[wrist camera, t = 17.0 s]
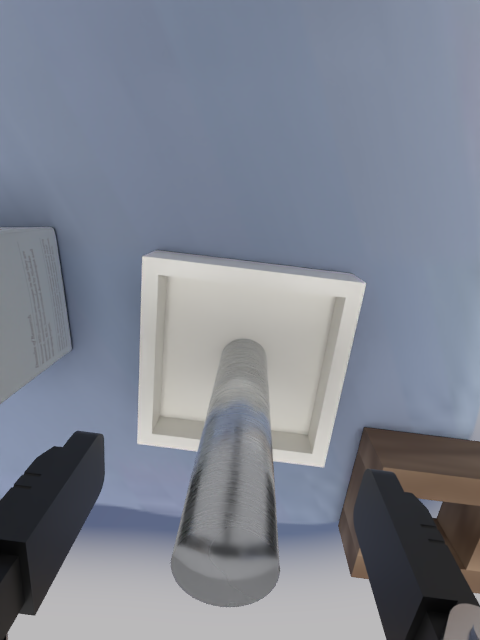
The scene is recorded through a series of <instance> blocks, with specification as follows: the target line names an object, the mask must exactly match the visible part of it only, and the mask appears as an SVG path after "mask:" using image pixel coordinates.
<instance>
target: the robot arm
mask: <svg viewBox="0 0 480 640" xmlns="http://www.w3.org/2000/svg"><path fill="white" fill-rule="evenodd" d="M104 475H105V466H104V437H103V435H102V434H99V433H91V432H83V431H76V432H75V433H74V434H73V435H72V436H71V437H70V439H69V440H68V441H67V442H66V444H65V445H64V446H63V447H56V446H54V447H52V448H51V449H49V450H48V451H46V452H45V453H43V454H42V455H40V456H39V457H37V458H36V459H35V460H34V462H33V463H32V464H31V465H30V466H29V467H28V469H27V470H26V471H25V472H24V475H22V476H21V477H20V478H19V479H18V480H17V481H16V483H15V484H14V487H13V488H11V489H10V490H9V491H8V492H7V493H6V494H5V496H4V497H3V498H2V499H1V500H0V640H8V634H7V633H8V631H9V629H10V627H11V626H12V624H13V622H14V620H15V618H16V617H17V615H18V613H20V614H28V615H35V614H36V612H37V611H38V608H39V607H40V605H41V603H42V601H43V599H44V597H45V596H46V594H47V592H48V590H49V587H50V586H51V584H52V582H53V580H54V579H55V577H56V575H57V573H58V571H59V569H60V567H61V566H62V564H63V562H64V560H65V558H66V556H67V554H68V553H69V550H70V549H71V547H72V545H73V543H74V541H75V539H76V538H77V536H78V534H79V532H80V530H81V528H82V526H83V524H84V523H85V521H86V519H87V517H88V515H89V513H90V511H91V509H92V508H93V506H94V504H95V502H96V500H97V498H98V496H99V494H100V492H101V489H102V486H103V482H104ZM353 522H354V529H355V532H356V536H357V539H358V543H359V546H360V550H361V553H362V557H363V560H364V564H365V567H366V570H367V574H368V577H369V581H370V584H371V588H372V591H373V594H374V598H375V601H376V605H377V608H378V612H379V615H380V619H381V622H382V625H383V629H384V632H385V636H386V639H387V640H480V605H479V603H478V601H477V599H476V598H475V596H474V594H473V592H472V590H471V588H470V586H469V585H468V583H467V581H466V579H465V577H464V575H463V574H462V572H461V570H460V568H459V566H458V564H457V563H456V561H455V559H454V557H453V555H452V553H451V551H450V550H449V548H448V546H447V545H445V540H444V539H443V537H442V535H441V533H440V531H439V530H437V526H436V524H435V522H434V520H433V518H432V517H431V515H430V513H429V511H428V509H427V508H426V507H425V506H424V505H423V504H422V503H421V502H420V501H419V500H418V498H417V497H416V496H415V495H414V494H413V493H409V492H404V490H403V488H402V486H401V484H400V482H399V480H398V478H397V476H396V475H395V473H394V472H391V471H383V470H375V469H366V470H365V472H364V474H363V478H362V481H361V485H360V488H359V492H358V495H357V498H356V502H355V505H354V511H353Z"/></svg>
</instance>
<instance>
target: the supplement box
mask: <svg viewBox="0 0 480 640" xmlns="http://www.w3.org/2000/svg"><path fill="white" fill-rule="evenodd" d="M71 350H72V346H71V337H70V329H69V323H68V316H67V308H66V301H65V295H64V287H63V280H62V274H61V266H60V260H59V254H58V246H57V240H56V236H55V231H54V229H53V228H52V227H0V404H1V403H2V402H4V401H5V400H6V399H8V398H9V397H10V396H11V395H13V394H14V393H15V392H17V391H18V390H19V389H21V388H22V387H23V386H25V385H26V384H27V383H29V382H30V381H31V380H33V379H34V378H35V377H37V376H38V375H39V374H41V373H42V372H43V371H45V370H46V369H47V368H49V367H50V366H51V365H53V364H54V363H55V362H56V361H58V360H59V359H60V358H62V357H63V356H64V355H66V354H67V353H68V352H70V351H71Z"/></svg>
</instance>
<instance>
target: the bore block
mask: <svg viewBox="0 0 480 640" xmlns="http://www.w3.org/2000/svg"><path fill="white" fill-rule="evenodd" d="M366 469H375V470H383V471H391V472H394V473H395V475H396V476H397V478H398V480H399V482H400V484H401V486H402V488H403V490H404V492H409V493H413V494H414V495H415V496H416V497H417V498H420V499H428V500H436V501H443V503H442V505H441V508H440V511H439V514H438V516H437V518H433V520H434V522H435V524H436V526H437V530H439V531H440V533H441V535H442V537H443V539H444V540H445V545H447V546H448V548H449V550H450V551H451V553H452V555H453V557H454V559H455V561H456V563H457V564H458V566H459V568H460V570H461V572H462V574H463V575H464V577H465V579H466V581H467V583H468V585H469V586H470V588H471V590H472V592H473V593H480V442H478V441H470V440H462V439H454V438H446V437H438V436H430V435H422V434H414V433H406V432H399V431H391V430H383V429H375V428H367V427H364V429H363V433H362V437H361V441H360V445H359V448H358V452H357V456H356V460H355V464H354V468H353V471H352V475H351V479H350V483H349V487H348V490H347V494H346V498H345V502H344V506H343V509H342V513H341V517H340V521H339V525H338V527H339V531H340V534H341V539H342V543H343V547H344V551H345V555H346V559H347V563H348V566H349V570H350V574H351V577H356V578H364V579H369V577H368V574H367V570H366V567H365V564H364V560H363V557H362V553H361V550H360V546H359V543H358V539H357V536H356V532H355V529H354V522H353V511H354V505H355V502H356V498H357V495H358V492H359V488H360V485H361V481H362V478H363V474H364V472H365V470H366Z"/></svg>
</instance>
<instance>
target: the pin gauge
mask: <svg viewBox="0 0 480 640" xmlns="http://www.w3.org/2000/svg"><path fill="white" fill-rule="evenodd" d="M171 570H172V574H173V576H174V578H175V580H176V582H177V583H178V585H179V586H180V587H181V588H182V589H183V590H184V591H185V592H186V593H187V594H189V595H190V596H192V597H193V598H195V599H197V600H199V601H201V602H204V603H206V604H211V605H214V606H220V607H239V606H244V605H248V604H252V603H254V602H256V601H259V600H260V599H262V598H264V597H265V596H266V595H268V594H269V593H270V592H271V591H272V589H273V588H274V587H275V585H276V583H277V581H278V578H279V573H280V566H279V551H278V533H277V517H276V501H275V485H274V468H273V452H272V436H271V420H270V403H269V387H268V371H267V357H266V353H265V351H264V349H263V348H262V346H261V345H260V344H258V343H257V342H255V341H253V340H251V339H245V338H241V339H236V340H233V341H231V342H230V343H229V344H227V345H226V346H225V348H224V349H223V351H222V354H221V358H220V362H219V366H218V370H217V374H216V378H215V382H214V386H213V390H212V394H211V399H210V403H209V407H208V411H207V415H206V419H205V423H204V427H203V431H202V435H201V439H200V443H199V447H198V451H197V456H196V460H195V464H194V468H193V472H192V476H191V480H190V484H189V488H188V492H187V496H186V500H185V504H184V508H183V513H182V517H181V521H180V525H179V529H178V533H177V537H176V542H175V545H174V550H173V554H172V558H171Z"/></svg>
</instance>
